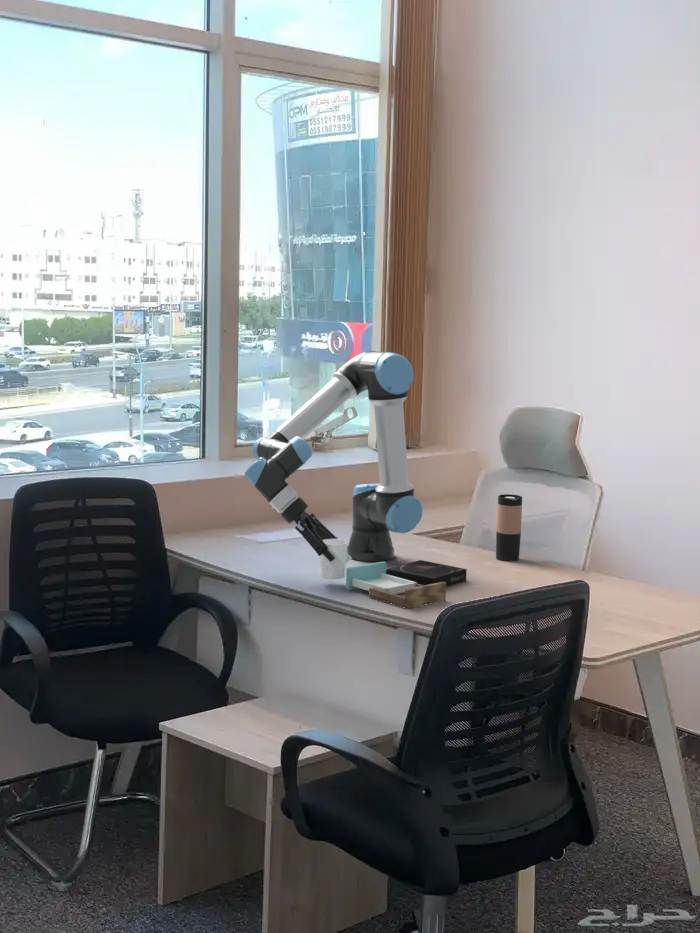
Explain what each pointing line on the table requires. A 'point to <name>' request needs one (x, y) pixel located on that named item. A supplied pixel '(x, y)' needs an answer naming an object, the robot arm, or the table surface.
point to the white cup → (341, 551)
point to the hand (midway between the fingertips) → (345, 564)
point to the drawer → (413, 595)
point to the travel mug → (508, 527)
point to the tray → (376, 579)
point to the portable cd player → (428, 573)
